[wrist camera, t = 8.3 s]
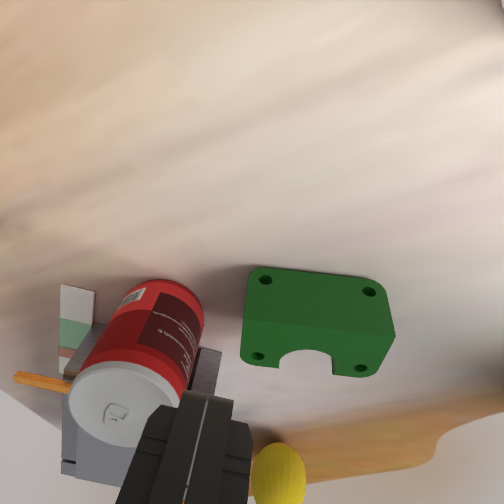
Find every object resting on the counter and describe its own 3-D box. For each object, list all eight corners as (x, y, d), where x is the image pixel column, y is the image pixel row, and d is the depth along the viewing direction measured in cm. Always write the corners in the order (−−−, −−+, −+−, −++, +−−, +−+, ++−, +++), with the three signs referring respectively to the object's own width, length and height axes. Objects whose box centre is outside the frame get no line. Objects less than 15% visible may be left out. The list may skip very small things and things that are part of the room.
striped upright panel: (95, 291, 36) (93, 294, 36) (89, 377, 41) (87, 380, 41) (61, 284, 36) (59, 286, 35) (60, 370, 41) (58, 373, 41)
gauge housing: (221, 352, 38) (209, 417, 32) (195, 445, 45) (181, 515, 39) (94, 322, 38) (54, 383, 31) (87, 422, 45) (53, 488, 38)
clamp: (268, 286, 40) (220, 354, 34) (275, 241, 36) (222, 309, 30) (386, 338, 36) (357, 425, 30) (409, 294, 32) (380, 384, 26)
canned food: (117, 333, 38) (62, 434, 29) (129, 265, 34) (70, 354, 25) (195, 354, 39) (166, 459, 29) (214, 289, 35) (189, 385, 25)
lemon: (258, 460, 46) (254, 536, 39) (250, 427, 43) (244, 503, 36) (306, 457, 45) (311, 535, 38) (301, 424, 43) (305, 501, 36)
